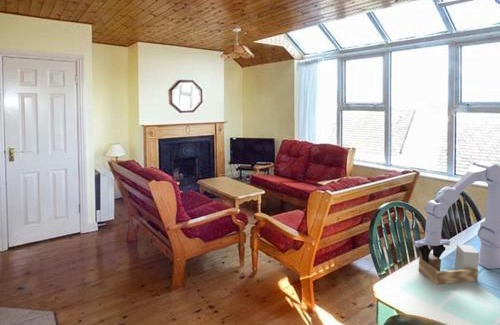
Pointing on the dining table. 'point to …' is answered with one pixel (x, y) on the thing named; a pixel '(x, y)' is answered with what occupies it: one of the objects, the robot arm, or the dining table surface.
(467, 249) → the small box
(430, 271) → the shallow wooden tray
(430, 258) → the brown rectangular block
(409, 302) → the dining table surface
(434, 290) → the dining table surface
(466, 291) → the dining table surface
